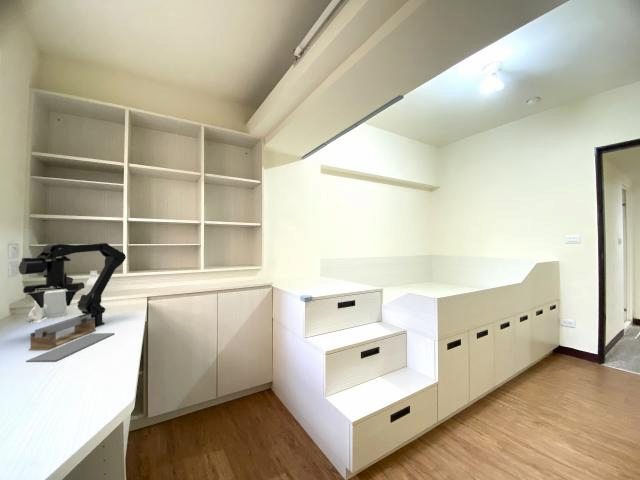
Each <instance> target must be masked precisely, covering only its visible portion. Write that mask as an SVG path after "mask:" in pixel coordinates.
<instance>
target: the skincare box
mask: <svg viewBox="0 0 640 480" xmlns="http://www.w3.org/2000/svg"><path fill="white" fill-rule="evenodd" d="M65 292H66V289H57V290H51V291H45V293H44V304H46V306H47V308H46V309H43V316H44V318H45V317H47V319H55V318H61V317H66V316H67V314H68V313H67V311H68V310H67V304H66V294H65Z"/></svg>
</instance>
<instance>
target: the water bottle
mask: <svg viewBox="0 0 640 480" xmlns="http://www.w3.org/2000/svg"><path fill="white" fill-rule="evenodd" d="M89 272H90V273H89V278H88V279H87V281H86V283H85V284H84V287H85V294H84V295H87V294H88V293H89V292H90V291H91V289H92V287H93V286H94V284H95V282H96V280H97V279H98V277H99V275H98V270H89ZM100 305H101V306H102V302H101V303H100Z"/></svg>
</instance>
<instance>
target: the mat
mask: <svg viewBox="0 0 640 480" xmlns="http://www.w3.org/2000/svg"><path fill="white" fill-rule="evenodd" d="M114 335H115V333H114V332H107V333H106V332H103V333H101V332H100V333H99V332H97V333H96V332H92V333H90V334H87V335H85V336H82V337H80V338H77V339H75V340H73V341H70V342H68V343H65V344H63V345H60V346H58V347H55V348H53V349H50V350H47V351H46V352H44V353H41V354H39V355H37V356H34V357H31V358H29V359H27V360H25V362H26V363H55V362H56V363H57V362H58V361H61V360H63V359H65V358H68V357H69V356H71V355H74V354H75V353H78V352H79V351H81V350H85V349H86V348H89V347H91V346H93V345H95V344H97V343H99V342H101V341H103V340H105V339H108V338H110V337H112V336H114Z"/></svg>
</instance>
